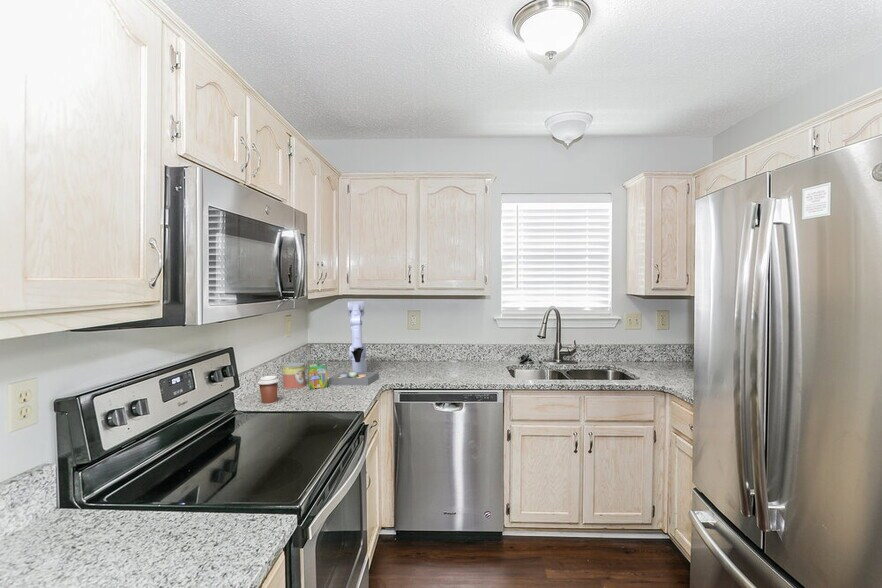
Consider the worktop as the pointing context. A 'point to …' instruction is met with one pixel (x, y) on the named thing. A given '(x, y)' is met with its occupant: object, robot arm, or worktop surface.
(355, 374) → the button sage
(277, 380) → the coffee cup
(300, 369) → the canned food
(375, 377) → the console
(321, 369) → the chalk box
